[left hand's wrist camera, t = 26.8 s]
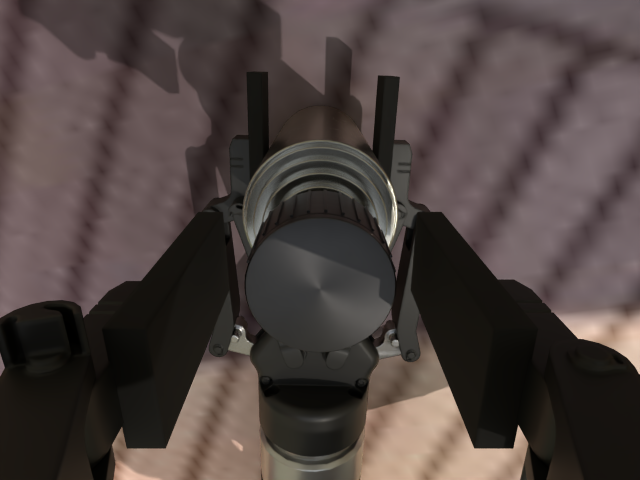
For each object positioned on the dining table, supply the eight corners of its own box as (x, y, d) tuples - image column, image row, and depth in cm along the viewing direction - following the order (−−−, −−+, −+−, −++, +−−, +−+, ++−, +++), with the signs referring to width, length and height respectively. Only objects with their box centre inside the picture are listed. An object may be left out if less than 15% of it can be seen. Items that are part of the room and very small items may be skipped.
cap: (411, 237, 14) (430, 274, 12) (333, 328, 15) (336, 378, 13) (305, 161, 13) (301, 183, 11) (231, 263, 14) (213, 304, 12)
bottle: (357, 196, 32) (408, 371, 14) (274, 188, 32) (212, 355, 14) (369, 110, 30) (447, 180, 12) (279, 101, 30) (214, 158, 11)
